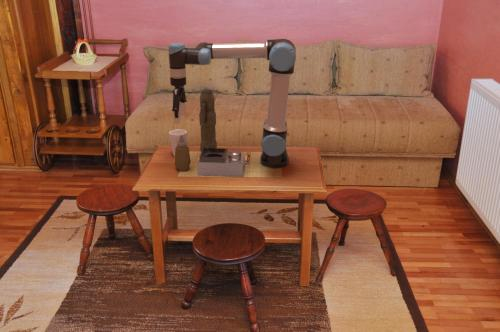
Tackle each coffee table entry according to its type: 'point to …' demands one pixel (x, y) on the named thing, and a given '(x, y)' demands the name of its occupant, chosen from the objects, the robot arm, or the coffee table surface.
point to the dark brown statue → (207, 120)
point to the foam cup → (176, 137)
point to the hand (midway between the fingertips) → (180, 119)
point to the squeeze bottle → (182, 155)
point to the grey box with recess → (221, 162)
